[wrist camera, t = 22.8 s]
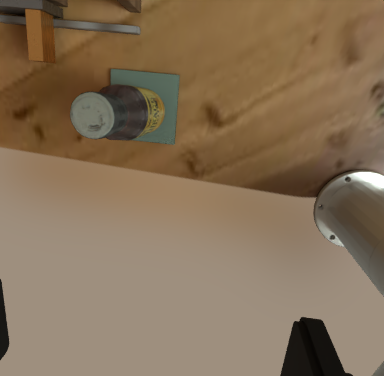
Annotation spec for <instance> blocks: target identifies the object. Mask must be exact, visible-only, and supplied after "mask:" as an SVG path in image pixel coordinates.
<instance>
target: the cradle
mask: <svg viewBox="0 0 384 376" xmlns="http://www.w3.org/2000/svg"><path fill="white" fill-rule="evenodd" d="M46 1H48V2H50V3H52V4H54V5H56V6H62V7H68V4H67V0H46ZM117 1H118V2H119V3H120V4H122V5H123V6H124V7H125V8H126V9H127V10H129V11H130V12H138V13H141V0H117ZM0 22H3V23H6V24H18V25H26V17H19V16H7V15H0ZM53 23H54V28H66V29H78V30H89V31H101V32H113V33H125V34H137V35H140V28H139V27H138V26H128V25H116V24H104V23H92V22H80V21H68V20H56V19H53Z"/></svg>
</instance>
